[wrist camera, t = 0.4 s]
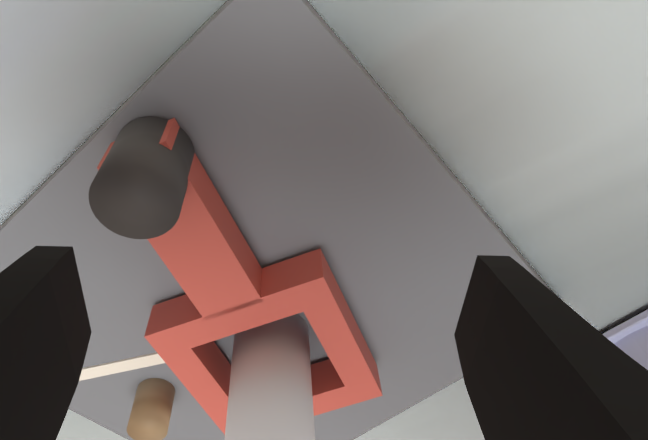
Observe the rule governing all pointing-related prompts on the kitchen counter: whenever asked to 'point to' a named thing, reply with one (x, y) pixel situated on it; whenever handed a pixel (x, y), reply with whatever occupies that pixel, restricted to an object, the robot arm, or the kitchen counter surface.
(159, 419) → the tan tapered cylinder
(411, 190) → the station
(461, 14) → the kitchen counter surface
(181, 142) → the square frame with handle
